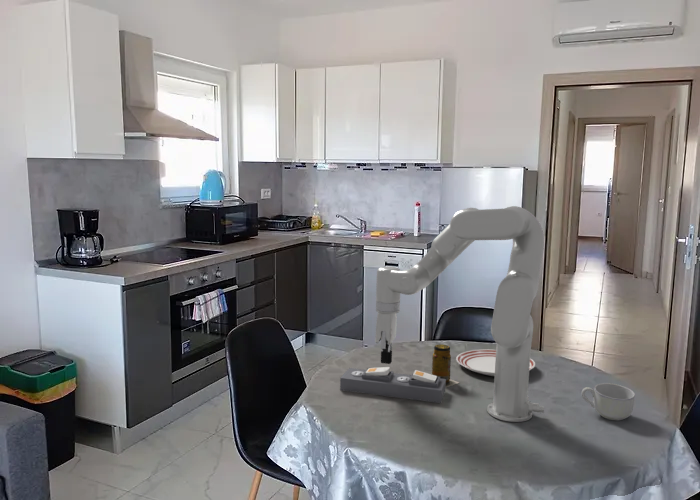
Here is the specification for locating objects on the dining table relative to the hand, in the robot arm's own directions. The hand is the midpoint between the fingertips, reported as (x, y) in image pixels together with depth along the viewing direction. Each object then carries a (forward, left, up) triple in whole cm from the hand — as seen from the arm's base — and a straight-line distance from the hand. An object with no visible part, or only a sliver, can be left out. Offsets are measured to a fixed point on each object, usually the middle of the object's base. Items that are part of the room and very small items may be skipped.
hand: (386, 362), depth 183 cm
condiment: (-16, -13, -9) cm, 23 cm away
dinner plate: (-32, -33, -9) cm, 47 cm away
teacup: (-65, -2, -9) cm, 66 cm away
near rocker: (-12, 0, -3) cm, 13 cm away
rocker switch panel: (-2, 0, -9) cm, 9 cm away
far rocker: (+3, 0, -3) cm, 4 cm away
